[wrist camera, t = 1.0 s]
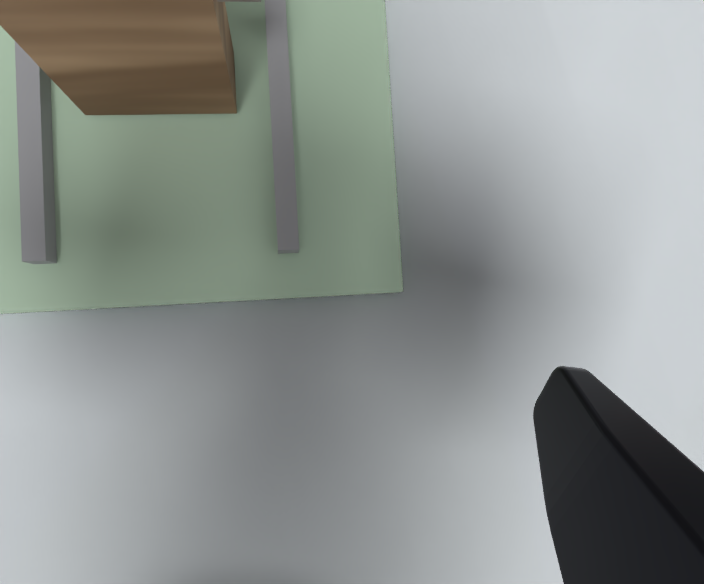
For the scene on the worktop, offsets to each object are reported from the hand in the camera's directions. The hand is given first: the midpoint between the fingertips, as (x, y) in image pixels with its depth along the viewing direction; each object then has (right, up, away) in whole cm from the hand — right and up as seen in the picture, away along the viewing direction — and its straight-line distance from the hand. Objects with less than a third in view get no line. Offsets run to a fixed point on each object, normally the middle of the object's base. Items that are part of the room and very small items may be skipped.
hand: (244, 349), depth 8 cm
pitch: (-6, +12, +15) cm, 20 cm away
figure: (-6, +9, +14) cm, 17 cm away
